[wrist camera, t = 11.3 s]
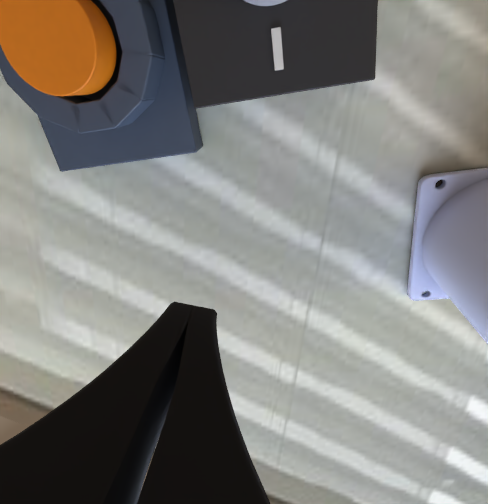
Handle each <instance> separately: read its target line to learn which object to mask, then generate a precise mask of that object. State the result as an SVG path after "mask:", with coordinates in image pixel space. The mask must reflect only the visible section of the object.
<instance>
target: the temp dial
mask: <svg viewBox="0 0 488 504" xmlns="http://www.w3.org/2000/svg"><path fill="white" fill-rule="evenodd" d="M244 1H246V2H248V3H250V4H253V5H258V6H272V5H277V4H280V3H283V2H285V1H287V0H244Z"/></svg>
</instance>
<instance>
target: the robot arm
mask: <svg viewBox="0 0 488 504" xmlns="http://www.w3.org/2000/svg"><path fill="white" fill-rule="evenodd" d="M441 179H442V184H441V185H440V186H439V187H435V184H436V182H437V181H438V180H441ZM426 290H427V292H426V293H424V294H422V292H424V291H426ZM407 295H408V296H409V298H410V299H412V300H415V301H418V300H432V299H446V298H450V299H451V301H452V302H453V303H454V304H455V305H456V307H457V308H458V309H459V310H460V311H461V313H462V314H463V315H464V316H465V317H466V319H467V320H468V321H469V322H470V323H471V325H472V326H473V327H474V328H475V329H476V331H477V332H478V333H479V334H480V335H481V337H482V338H483V339H484V340H485V341H486V343H487V344H488V168H479V169H471V170H463V171H454V172H446V173H438V174H429V175H426V176H424V177H422V178H421V179H420V181H419V183H418V188H417V198H416V208H415V218H414V228H413V238H412V248H411V258H410V268H409V278H408V288H407ZM216 318H217V313H216V311H215V310H213V309H208V308H203V307H198V306H193V305H188V304H183V303H178V302H173V303H171V304H170V305H169V307H168V308H167V309H166V310H165V312H164V313H163V314H162V315H161V316H160V317H159V319H158V320H157V321H156V322H155V323H154V324H153V325H152V326H151V327H150V328H149V329H148V331H147V332H146V333H145V334H144V335H143V336H142V337H141V338H139V339H138V340H137V341H136V342H135V343H134V344H133V345H132V346H131V347H130V348H129V349H128V350H127V351H126V352H125V353H124V354H123V355H122V356H121V357H119V358H118V359H117V360H116V361H115V362H114V363H113V364H112V365H110V366H109V367H108V368H107V369H106V370H105V371H104V372H102V373H101V374H100V375H99V376H98V377H96V378H95V379H94V380H93V381H91V382H90V383H89V384H88V385H86V386H85V387H84V388H83V389H81V390H80V391H79V392H77V393H76V394H75V395H73V396H72V397H71V398H69V399H68V400H67V401H65V402H64V403H63V404H61V405H60V406H58V407H57V408H55V409H54V410H53V411H51V412H50V413H48V414H47V415H45V416H44V417H43V418H41V419H40V420H38V421H37V422H35V423H34V424H32V425H31V426H29V427H28V428H27V429H25V430H24V431H22V432H21V433H19V434H17V435H16V436H14V437H13V438H11V439H9V440H8V441H6V442H4V443H3V444H1V445H0V504H270V502H269V499H268V497H267V495H266V493H265V490H264V488H263V486H262V483H261V481H260V479H259V476H258V474H257V472H256V470H255V467H254V465H253V463H252V460H251V458H250V455H249V453H248V450H247V448H246V445H245V442H244V440H243V437H242V434H241V431H240V428H239V426H238V423H237V420H236V417H235V414H234V410H233V407H232V404H231V400H230V397H229V393H228V390H227V386H226V382H225V378H224V373H223V369H222V364H221V359H220V353H219V347H218V339H217V328H216ZM159 436H160V437H159ZM158 439H159V440H158ZM157 442H158V443H157ZM156 444H157V446H156ZM155 447H156V449H155ZM154 450H155V452H154ZM153 452H154V455H153ZM152 455H153V458H152ZM151 458H152V461H151V464H150V467H149V470H148V473H147V476H146V479H145V482H144V478H145V475H146V472H147V469H148V466H149V463H150V460H151ZM143 482H144V484H143ZM142 485H143V487H142ZM141 488H142V490H141ZM140 492H141V493H140Z"/></svg>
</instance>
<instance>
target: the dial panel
mask: <svg viewBox="0 0 488 504" xmlns="http://www.w3.org/2000/svg"><path fill="white" fill-rule="evenodd" d="M173 3H174V8H175V13H176V19H177V24H178V29H179V34H180V39H181V44H182V49H183V54H184V59H185V64H186V69H187V74H188V79H189V84H190V89H191V94H192V99H193V104H194V108H202V107H208V106H214V105H220V104H226V103H233V102H239V101H245V100H251V99H257V98H264V97H270V96H276V95H282V94H288V93H294V92H301V91H307V90H313V89H319V88H325V87H332V86H338V85H344V84H350V83H356V82H363V81H369V80H374V79H375V66H376V36H377V6H378V0H287V1H285V2H283V3H280V4H277V5H272V6H258V5H253V4H250V3H248V2H246V1H244V0H173Z"/></svg>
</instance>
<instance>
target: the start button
mask: <svg viewBox="0 0 488 504" xmlns="http://www.w3.org/2000/svg"><path fill="white" fill-rule="evenodd" d="M0 45H1V47H2V50H3V52H4V54H5V56H6V58H7V60H8V61H9V63H10V65H11V66H12V67H13V69H14V70H15V71H16V72H17V74H18V75H19V76H20V77H21V78H22V79H23V80H24V81H26V82H27V83H28V84H29V85H31V86H32V87H34V88H35V89H37V90H39V91H41V92H43V93H46V94H49V95H53V96H75V95H89V94H93V93H95V92H97V91H99V90H101V89H102V88H103V87H104V86H105V85H106V84H107V83H108V82H109V81H110V79H111V77H112V75H113V72H114V69H115V65H116V43H115V39H114V35H113V32H112V29H111V27H110V25H109V23H108V21H107V19H106V17H105V16H104V14H103V13H102V12H101V10H100V9H99V8H98V7H97V6H96V5H95V4H94V3H93V2H92V1H91V0H0Z"/></svg>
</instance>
